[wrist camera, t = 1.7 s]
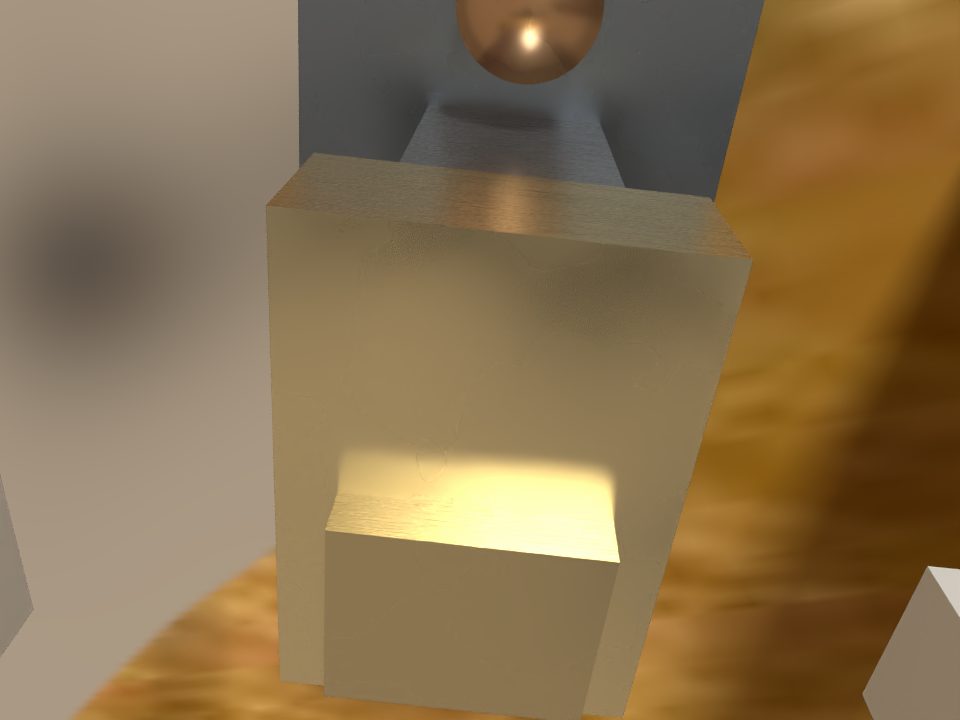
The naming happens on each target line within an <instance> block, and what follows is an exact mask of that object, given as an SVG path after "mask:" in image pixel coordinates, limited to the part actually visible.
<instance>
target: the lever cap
mask: <svg viewBox="0 0 960 720" xmlns="http://www.w3.org/2000/svg"><path fill="white" fill-rule="evenodd" d="M266 222H267V256H268V290H269V323H270V357H271V389H272V390H271V391H272V424H273V459H274V492H275V524H276V560H277V594H278V628H279V662H280V681H284V682H293V683H303V684H312V685H321V686H324V696H331V697H340V698H350V699H359V700H368V701H378V702H387V703H396V704H406V705H415V706H424V707H433V708H443V709H452V710H461V711H471V712H480V713H489V714H499V715H508V716H517V717H526V718H536V719H545V720H581V717H582V714H591V715H600V716H609V717H619V718H623V715H624V712H625V708H626V705H627V701H628V698H629V694H630V691H631V687H632V684H633V680H634V677H635V673H636V669H637V666H638V662H639V659H640V655H641V652H642V648H643V645H644V641H645V638H646V634H647V631H648V627H649V624H650V620H651V617H652V613H653V610H654V606H655V603H656V599H657V596H658V592H659V589H660V585H661V582H662V578H663V575H664V571H665V568H666V564H667V561H668V557H669V554H670V550H671V547H672V543H673V539H674V536H675V532H676V529H677V525H678V522H679V518H680V515H681V511H682V508H683V504H684V501H685V497H686V494H687V490H688V487H689V483H690V480H691V476H692V473H693V469H694V466H695V462H696V459H697V455H698V452H699V448H700V445H701V441H702V438H703V434H704V431H705V427H706V424H707V420H708V416H709V413H710V409H711V406H712V402H713V399H714V395H715V392H716V388H717V385H718V381H719V378H720V374H721V371H722V367H723V364H724V360H725V357H726V353H727V350H728V346H729V343H730V339H731V336H732V332H733V329H734V325H735V322H736V318H737V315H738V311H739V308H740V304H741V301H742V297H743V294H744V290H745V286H746V283H747V279H748V276H749V272H750V269H751V265H752V262H753V260H752V258H751V257H750V255H749V254H748V252H747V251H746V249H745V248H744V246H743V245H742V244H741V242H740V241H739V239H738V238H737V236H736V235H735V233H734V232H733V230H732V229H731V228H730V226H729V225H728V223H727V222H726V220H725V219H724V217H723V216H722V214H721V213H720V212H719V210H718V209H717V207H716V206H715V204H714V203H713V201H712V200H711V198H710V197H702V196H693V195H684V194H675V193H666V192H658V191H649V190H640V189H631V188H622V187H613V186H604V185H596V184H587V183H578V182H569V181H560V180H551V179H542V178H534V177H525V176H516V175H507V174H498V173H489V172H480V171H472V170H463V169H454V168H445V167H436V166H427V165H418V164H410V163H401V162H392V161H383V160H374V159H365V158H356V157H348V156H339V155H330V154H321V153H313V155H312V156H311V157H310V158H309V159H308V160H307V161H306V162H305V163H304V164H303V165H302V167H301V168H300V169H299V170H298V171H297V172H296V173H295V174H294V175H293V177H292V178H291V179H290V180H289V181H288V182H287V183H286V184H285V185H284V186H283V188H282V189H281V190H280V191H279V192H278V193H277V194H276V195H275V196H274V197H273V199H272V200H271V201H270V202H269V203H268V204H267V205H266Z"/></svg>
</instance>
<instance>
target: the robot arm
mask: <svg viewBox="0 0 960 720" xmlns="http://www.w3.org/2000/svg"><path fill="white" fill-rule="evenodd" d="M32 611H33V606H32V601H31V598H30V594H29V589H28V585H27V582H26V577H25V573H24V569H23V565H22V561H21V557H20V553H19V549H18V545H17V541H16V537H15V533H14V529H13V525H12V521H11V517H10V513H9V509H8V505H7V501H6V497H5V493H4V488H3V484H2V480H1V477H0V657H1V656H2V654H3V653H4V652H5V650H6V649H7V647H8V646H9V644H10V643H11V641H12V640H13V638H14V637H15V636H16V634H17V633H18V631H19V630H20V628H21V627H22V625H23V624H24V622H25V621H26V620H27V618H28V617H29V615H30V614H31V612H32ZM862 695H863V697H864V699H865V702H866V704H867V706H868V709H869V711H870V713H871V715H872V718H873V720H960V569H951V568H941V567H932V566H927V568H926V570H925V572H924V574H923V576H922V578H921V580H920V582H919V584H918V586H917V588H916V590H915V592H914V594H913V595H912V597H911V599H910V601H909V603H908V605H907V607H906V609H905V611H904V613H903V615H902V617H901V619H900V621H899V623H898V625H897V627H896V629H895V631H894V633H893V635H892V637H891V639H890V641H889V642H888V644H887V646H886V648H885V650H884V652H883V654H882V656H881V658H880V660H879V662H878V664H877V666H876V668H875V670H874V672H873V674H872V676H871V678H870V680H869V682H868V684H867V686H866V688H865V689H864V691H863V693H862Z"/></svg>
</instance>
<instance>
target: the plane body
mask: <svg viewBox="0 0 960 720" xmlns="http://www.w3.org/2000/svg"><path fill="white" fill-rule="evenodd" d="M763 4H764V0H298V38H299V40H298V44H299V153H300V154H299V155H300V156H299V163H300V168H301V167H302V165H303V164H304V163H305V162H306V161H307V160H308V159H309V158H310V157H311V156H312V155H313V153H321V154H330V155H339V156H348V157H356V158H365V159H374V160H383V161H392V162H401V163H410V164H418V165H427V166H436V167H445V168H454V169H463V170H472V171H480V172H489V173H498V174H507V175H516V176H525V177H534V178H542V179H551V180H560V181H569V182H578V183H587V184H596V185H604V186H613V187H622V188H631V189H640V190H649V191H658V192H666V193H675V194H684V195H693V196H702V197H710V198H711V200H712V201H713V203H714V200H715V196H716V192H717V188H718V184H719V180H720V176H721V172H722V168H723V164H724V160H725V156H726V152H727V148H728V144H729V140H730V136H731V132H732V128H733V124H734V120H735V116H736V112H737V108H738V104H739V100H740V96H741V92H742V88H743V84H744V80H745V76H746V72H747V68H748V64H749V60H750V56H751V52H752V48H753V44H754V40H755V36H756V32H757V28H758V24H759V20H760V16H761V12H762V8H763Z"/></svg>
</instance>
